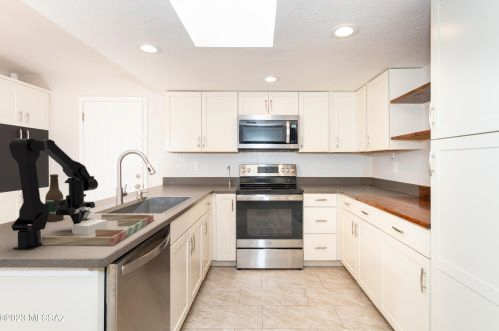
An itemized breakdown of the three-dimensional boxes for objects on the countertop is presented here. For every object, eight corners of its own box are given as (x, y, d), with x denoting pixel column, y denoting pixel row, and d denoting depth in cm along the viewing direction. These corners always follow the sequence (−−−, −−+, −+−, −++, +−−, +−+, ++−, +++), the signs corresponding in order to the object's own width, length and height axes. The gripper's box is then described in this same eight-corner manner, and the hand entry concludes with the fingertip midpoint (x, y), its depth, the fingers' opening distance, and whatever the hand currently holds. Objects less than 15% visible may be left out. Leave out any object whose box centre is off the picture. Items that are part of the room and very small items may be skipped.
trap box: (113, 245, 99) (112, 237, 99) (41, 244, 100) (41, 237, 100) (153, 220, 139) (153, 214, 139) (102, 219, 140) (102, 214, 140)
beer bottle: (47, 219, 140) (46, 174, 140) (65, 218, 144) (64, 173, 143) (43, 222, 133) (42, 174, 132) (62, 221, 136) (61, 174, 136)
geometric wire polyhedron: (82, 227, 139) (79, 214, 133) (69, 221, 140) (65, 208, 134) (96, 216, 146) (93, 203, 140) (84, 210, 147) (80, 197, 141)
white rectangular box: (87, 235, 114) (87, 226, 113) (72, 234, 115) (72, 224, 115) (107, 228, 124) (107, 220, 124) (92, 227, 126) (92, 219, 126)
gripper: (72, 189, 129) (73, 221, 129) (42, 195, 110) (42, 232, 111) (95, 190, 129) (95, 222, 129) (68, 195, 110) (69, 232, 110)
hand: (76, 227), depth 120 cm, fingers closed
